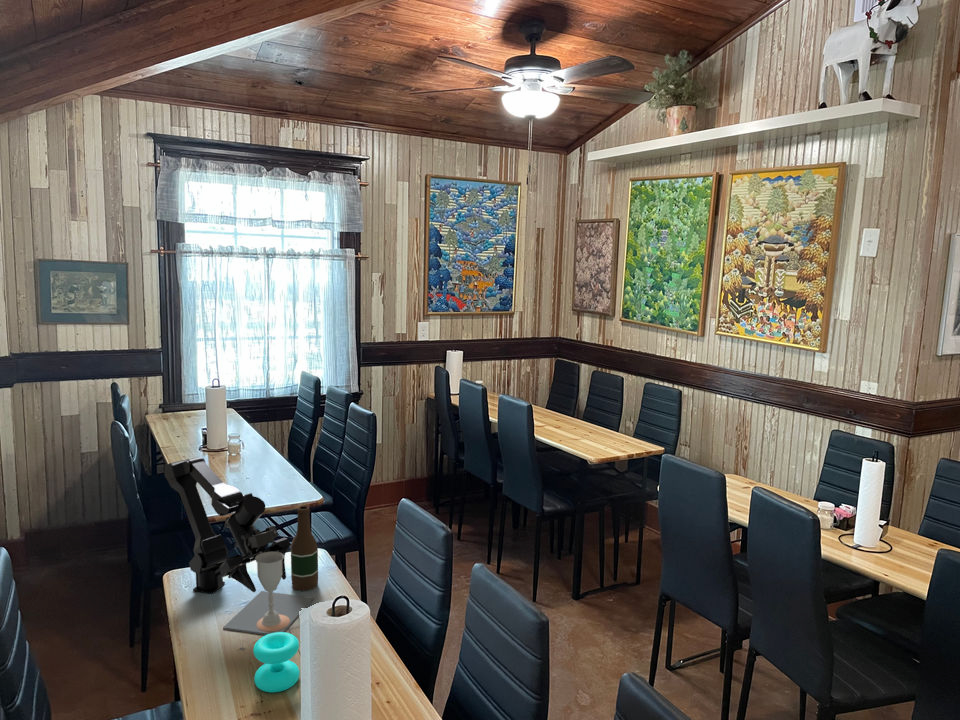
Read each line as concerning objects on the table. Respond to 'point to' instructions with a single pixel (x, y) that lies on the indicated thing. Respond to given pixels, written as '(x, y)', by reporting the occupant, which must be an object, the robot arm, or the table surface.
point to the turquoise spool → (276, 662)
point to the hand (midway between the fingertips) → (270, 585)
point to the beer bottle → (304, 554)
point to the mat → (257, 608)
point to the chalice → (270, 581)
